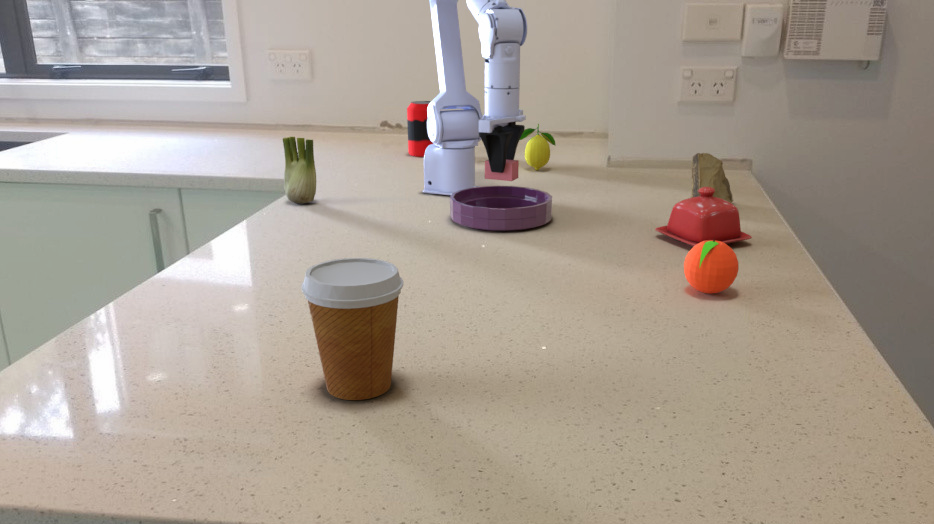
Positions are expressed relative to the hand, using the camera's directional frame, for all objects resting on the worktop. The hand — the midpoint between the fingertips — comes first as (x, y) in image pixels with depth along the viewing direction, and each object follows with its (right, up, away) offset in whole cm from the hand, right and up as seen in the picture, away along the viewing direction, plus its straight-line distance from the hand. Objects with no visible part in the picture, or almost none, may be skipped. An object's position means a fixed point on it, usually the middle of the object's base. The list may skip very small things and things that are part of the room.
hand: (501, 170), depth 143 cm
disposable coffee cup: (-14, -33, -60) cm, 70 cm away
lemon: (+8, +8, +40) cm, 42 cm away
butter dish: (+32, -13, -10) cm, 36 cm away
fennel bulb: (-37, -4, +11) cm, 38 cm away
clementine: (+27, -23, -33) cm, 48 cm away
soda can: (-18, +15, +57) cm, 62 cm away
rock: (+39, -5, +10) cm, 40 cm away
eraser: (0, -1, +1) cm, 1 cm away
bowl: (0, -8, +1) cm, 8 cm away
